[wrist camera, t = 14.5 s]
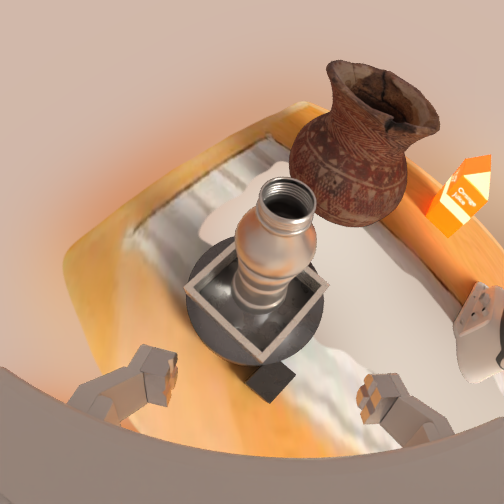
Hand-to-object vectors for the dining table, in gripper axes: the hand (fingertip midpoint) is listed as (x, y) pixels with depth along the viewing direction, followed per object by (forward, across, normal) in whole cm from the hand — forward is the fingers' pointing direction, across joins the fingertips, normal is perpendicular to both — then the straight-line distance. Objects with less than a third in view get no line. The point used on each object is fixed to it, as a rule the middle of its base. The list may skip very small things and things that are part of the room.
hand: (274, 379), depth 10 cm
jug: (+44, -13, -5) cm, 46 cm away
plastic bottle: (+23, 0, +8) cm, 25 cm away
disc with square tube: (+27, 0, +11) cm, 29 cm away
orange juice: (+45, -41, -6) cm, 61 cm away
